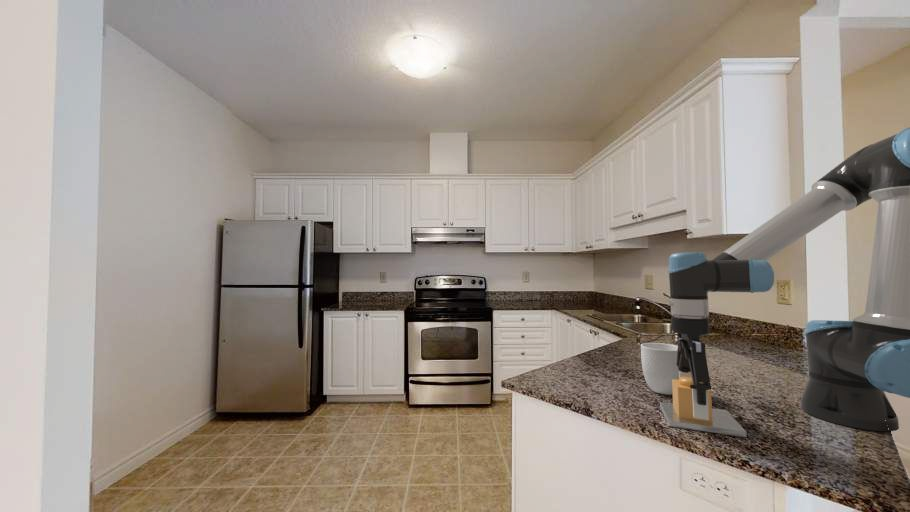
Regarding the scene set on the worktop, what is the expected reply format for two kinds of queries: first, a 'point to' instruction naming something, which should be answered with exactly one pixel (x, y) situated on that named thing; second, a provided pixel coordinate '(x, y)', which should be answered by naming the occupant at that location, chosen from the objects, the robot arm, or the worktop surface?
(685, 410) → the cube with dome top
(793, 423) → the worktop surface
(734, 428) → the plate with brass peg
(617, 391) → the worktop surface
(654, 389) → the mug
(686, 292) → the robot arm
